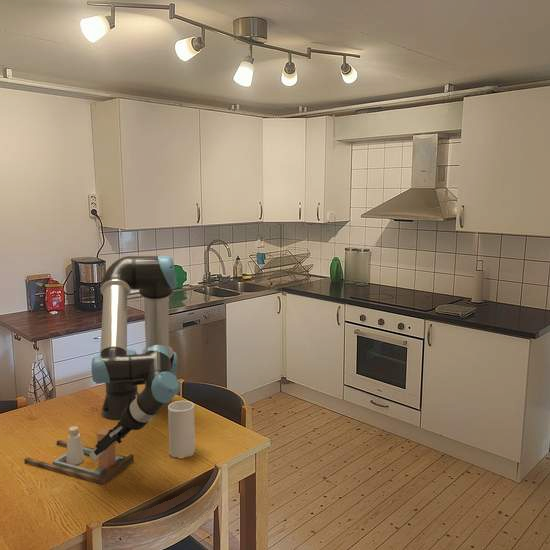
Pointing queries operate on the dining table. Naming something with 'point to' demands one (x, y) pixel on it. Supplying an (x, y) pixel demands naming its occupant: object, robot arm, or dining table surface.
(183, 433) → the cup
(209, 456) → the dining table surface
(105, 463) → the frame
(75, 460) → the salt shaker
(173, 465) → the dining table surface
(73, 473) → the track
